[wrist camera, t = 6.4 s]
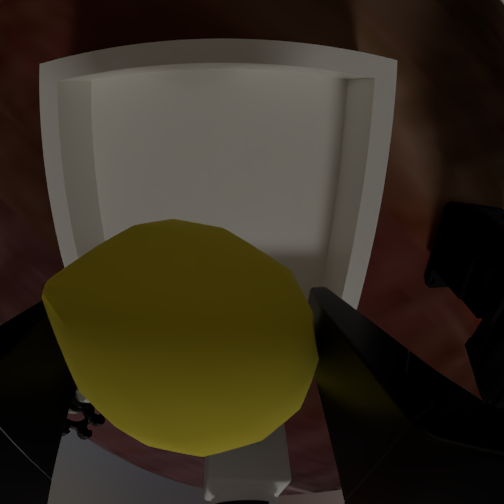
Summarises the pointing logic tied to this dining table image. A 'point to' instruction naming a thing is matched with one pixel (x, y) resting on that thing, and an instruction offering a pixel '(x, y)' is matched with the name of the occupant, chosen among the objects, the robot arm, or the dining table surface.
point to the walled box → (224, 148)
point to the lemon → (185, 336)
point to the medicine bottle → (249, 472)
